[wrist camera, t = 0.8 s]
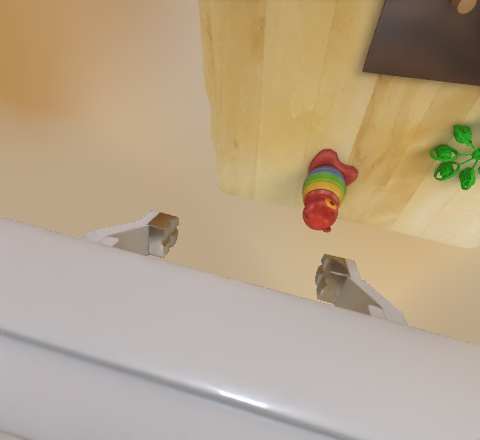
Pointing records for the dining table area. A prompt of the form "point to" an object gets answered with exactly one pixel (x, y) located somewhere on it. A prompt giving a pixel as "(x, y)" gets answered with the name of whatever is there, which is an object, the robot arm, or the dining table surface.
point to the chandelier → (446, 168)
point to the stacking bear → (325, 189)
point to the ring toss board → (428, 41)
